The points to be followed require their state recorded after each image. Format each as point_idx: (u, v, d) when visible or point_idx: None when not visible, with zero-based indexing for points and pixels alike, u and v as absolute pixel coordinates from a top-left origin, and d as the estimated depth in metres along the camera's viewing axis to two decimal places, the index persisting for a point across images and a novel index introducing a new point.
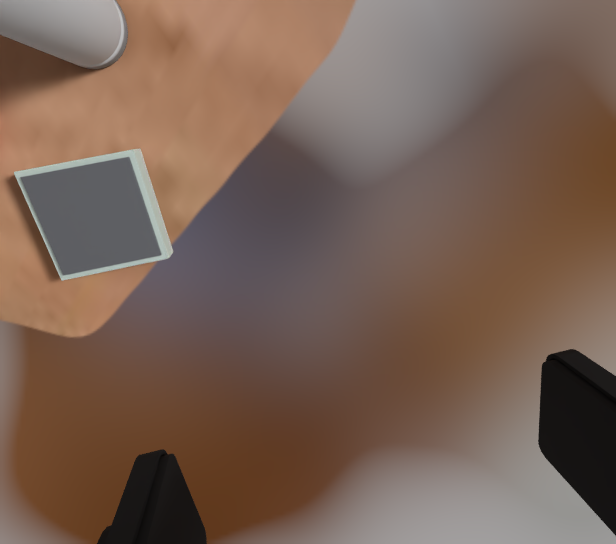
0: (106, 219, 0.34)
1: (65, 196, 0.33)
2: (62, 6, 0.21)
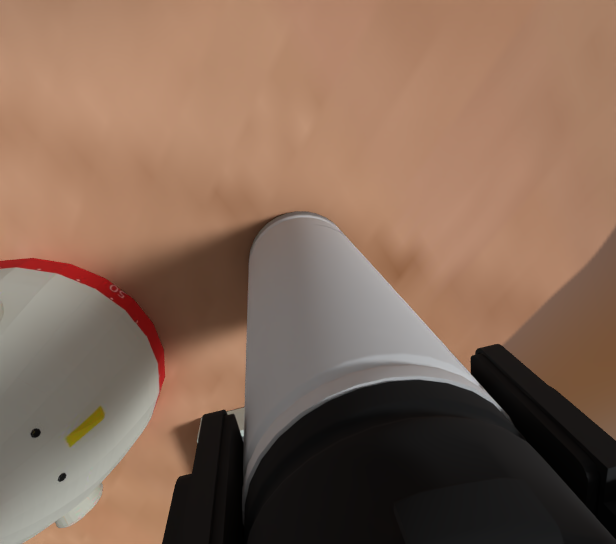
0: None
1: None
2: None
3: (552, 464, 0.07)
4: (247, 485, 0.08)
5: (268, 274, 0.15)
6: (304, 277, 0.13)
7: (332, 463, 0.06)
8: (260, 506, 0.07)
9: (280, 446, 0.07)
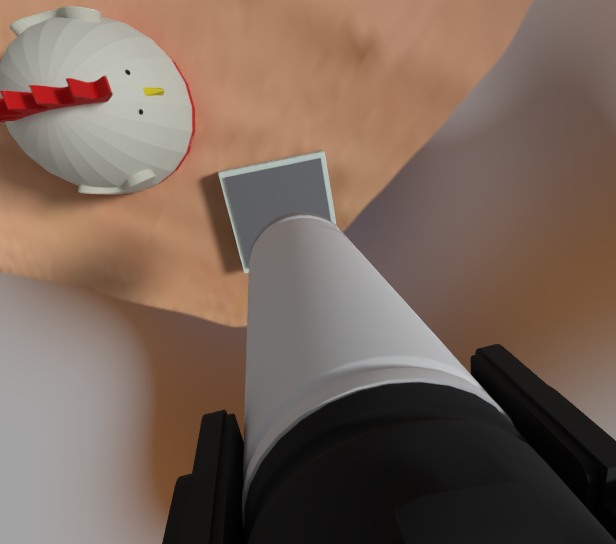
0: None
1: (261, 195, 0.36)
2: None
3: (552, 464, 0.07)
4: (247, 488, 0.08)
5: (268, 275, 0.15)
6: (305, 278, 0.13)
7: (332, 466, 0.06)
8: (260, 509, 0.07)
9: (281, 449, 0.07)
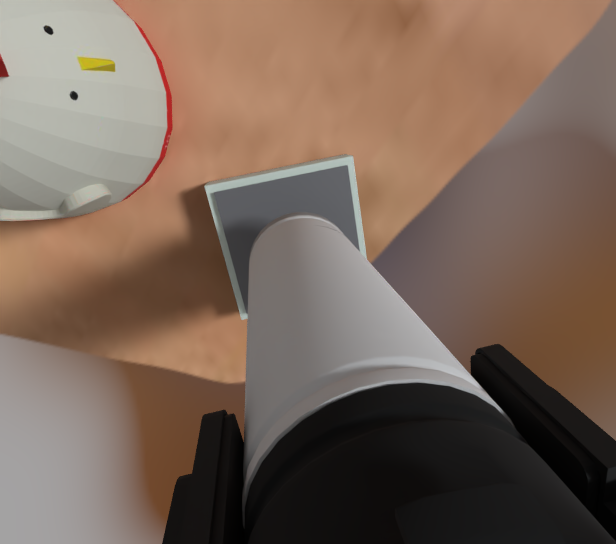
0: None
1: (264, 216, 0.26)
2: None
3: (552, 464, 0.07)
4: (247, 488, 0.08)
5: (268, 275, 0.15)
6: (305, 278, 0.13)
7: (332, 467, 0.06)
8: (260, 510, 0.07)
9: (281, 449, 0.07)
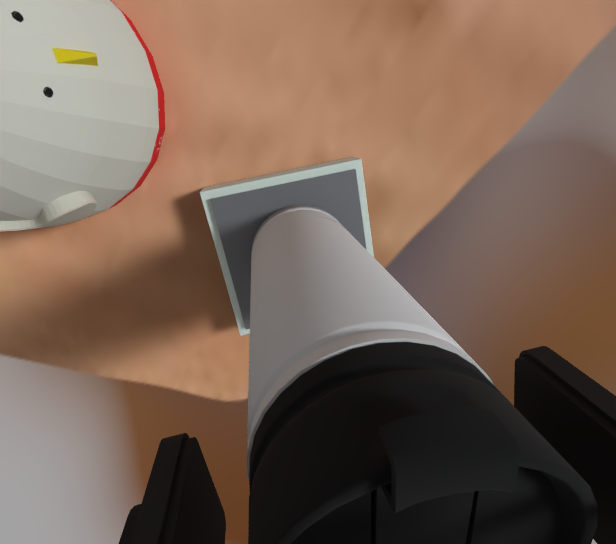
0: None
1: None
2: None
3: None
4: (252, 438, 0.08)
5: (270, 260, 0.16)
6: (305, 260, 0.14)
7: (327, 407, 0.07)
8: (264, 452, 0.08)
9: (282, 400, 0.08)
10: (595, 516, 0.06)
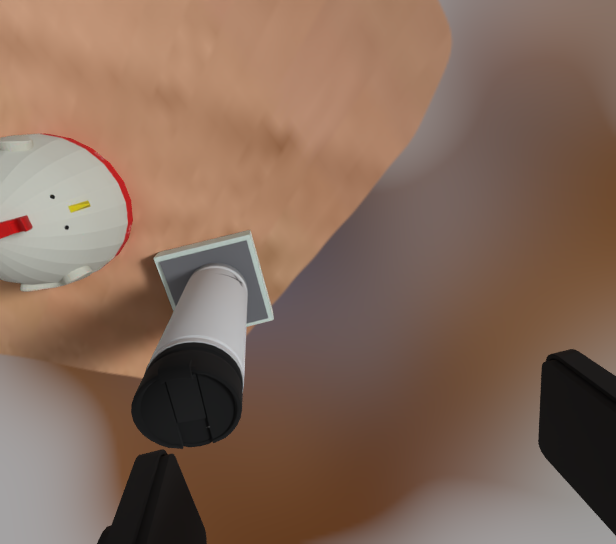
0: None
1: None
2: None
3: None
4: None
5: (178, 303, 0.31)
6: (187, 306, 0.29)
7: (158, 362, 0.22)
8: None
9: (151, 362, 0.23)
10: (234, 391, 0.22)
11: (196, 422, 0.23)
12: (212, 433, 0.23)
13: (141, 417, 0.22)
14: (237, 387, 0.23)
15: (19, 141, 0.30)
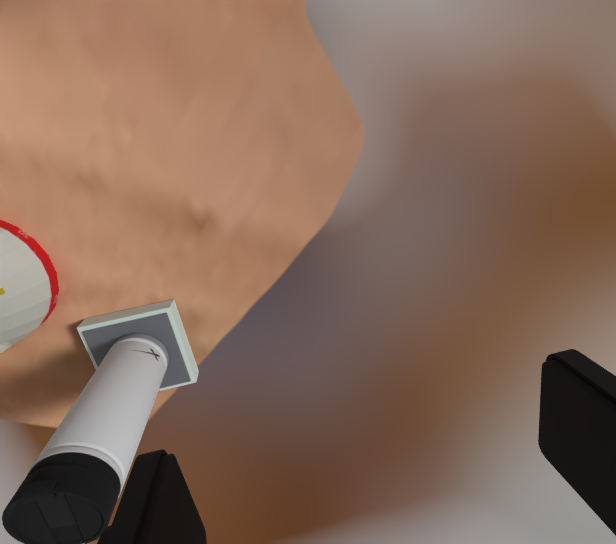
0: None
1: None
2: None
3: None
4: None
5: (84, 388, 0.34)
6: (85, 398, 0.31)
7: (31, 476, 0.25)
8: None
9: (30, 470, 0.26)
10: (97, 505, 0.24)
11: (68, 526, 0.26)
12: (84, 536, 0.26)
13: (14, 525, 0.25)
14: (104, 498, 0.25)
15: None
